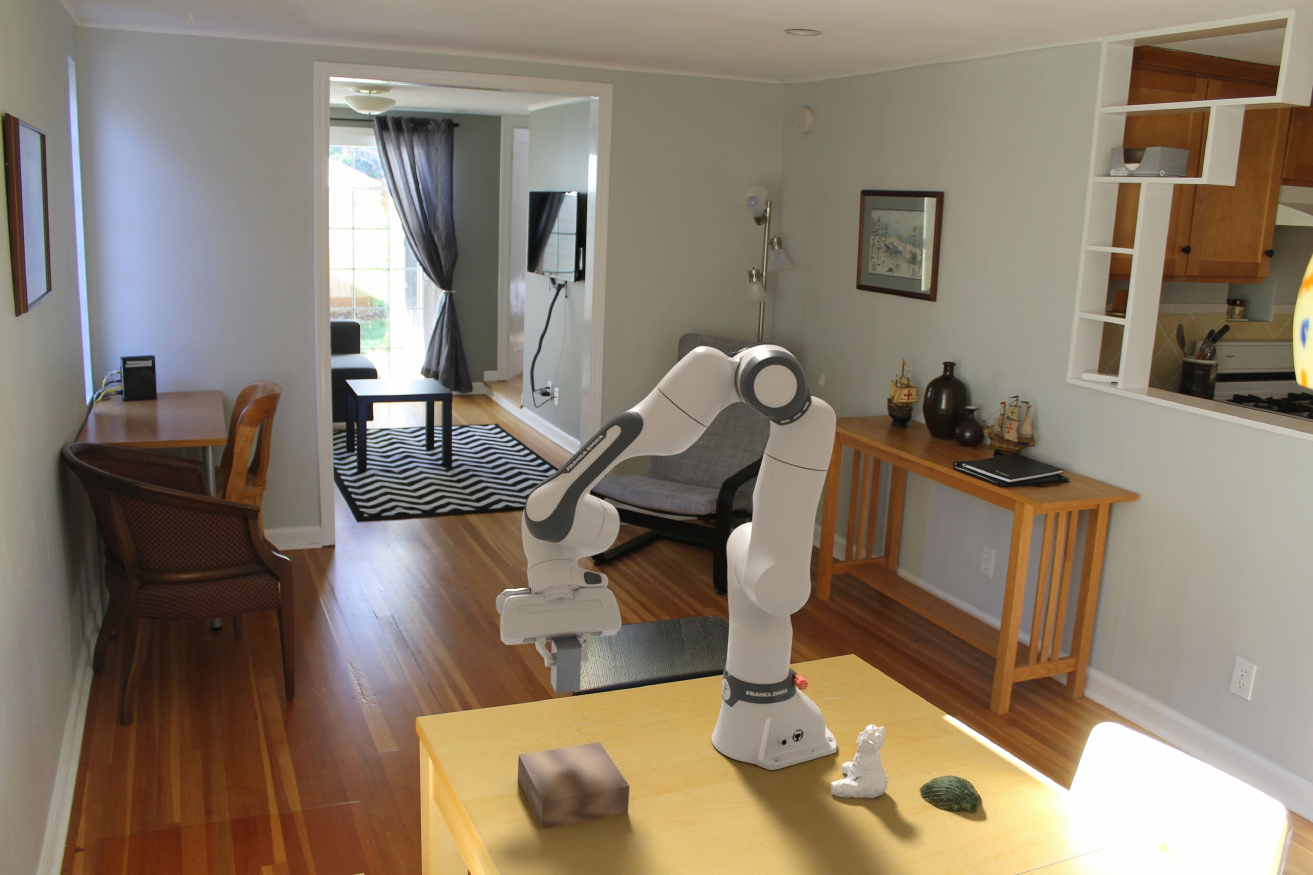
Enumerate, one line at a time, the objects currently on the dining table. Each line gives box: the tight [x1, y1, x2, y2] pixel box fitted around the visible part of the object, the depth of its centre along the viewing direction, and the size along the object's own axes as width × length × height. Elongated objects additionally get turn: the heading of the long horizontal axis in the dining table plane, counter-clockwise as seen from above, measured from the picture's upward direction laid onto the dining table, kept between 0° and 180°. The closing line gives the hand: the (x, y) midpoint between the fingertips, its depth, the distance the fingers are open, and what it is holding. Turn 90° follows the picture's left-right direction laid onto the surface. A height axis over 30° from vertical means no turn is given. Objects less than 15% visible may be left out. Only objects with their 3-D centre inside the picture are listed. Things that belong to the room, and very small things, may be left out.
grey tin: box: [550, 636, 583, 694], centre depth 166 cm, size 4×4×8 cm
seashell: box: [919, 775, 982, 814], centre depth 167 cm, size 10×4×10 cm
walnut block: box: [517, 741, 630, 830], centre depth 161 cm, size 14×14×5 cm
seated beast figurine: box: [830, 723, 889, 799], centre depth 167 cm, size 10×9×12 cm
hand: (566, 663), depth 165 cm, fingers closed on grey tin, 4 cm apart
